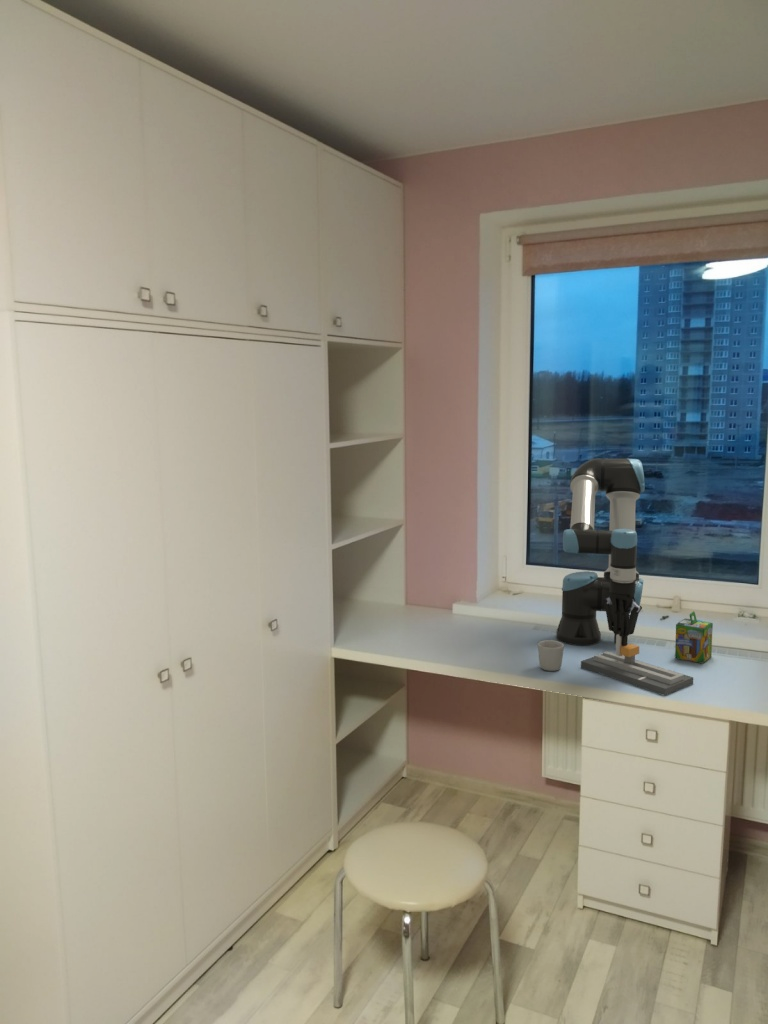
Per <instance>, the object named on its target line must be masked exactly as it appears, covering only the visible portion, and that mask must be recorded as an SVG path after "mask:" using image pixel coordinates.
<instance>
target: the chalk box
mask: <svg viewBox="0 0 768 1024" xmlns="http://www.w3.org/2000/svg"><path fill="white" fill-rule="evenodd" d="M713 625H714V624H713V622H709V621H704V620H699V619H697V616H696V612H695V611H694V610H693V611H692V612H691V613H689V618H684V619H682V620H680V621H678V622H677V623H676V624H675V646H674V647H675V648H674V649H675V650H674V652H675V653H674V659H677V660H678V659H679V660H682V661H683V660H684V661H689V662H696V663H700V664H704V663H705V662H706V661H708V660H709V659H710V658H711V657H712V651H713V650H712V649H713Z"/></svg>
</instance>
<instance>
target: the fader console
mask: <svg viewBox="0 0 768 1024" xmlns="http://www.w3.org/2000/svg"><path fill="white" fill-rule="evenodd" d="M624 661H625V656H617V655H616V652H615V653H614V652H611V651H604V652H602V653H601V654H599V653H598V654H595V655H593V657H589V658H586V659H583V660H581V661H580V668H582V669H585V670H588V671H591V672H593V673H594V672H595V673H597V674H600V675H603V676H607V677H609V678H612V679H615V680H618V681H621V682H624V683H627V684H629V685H633V686H635V687H639V688H641V689H645V690H647V691H651V692H653V693H657V694H659V695H662V696H667V695H670V694H672V693H675V692H677V691H680V690H682V689H684V688H686V687H689V686H691V685H694V677H693V676H689V675H688V674H687V675H686V674H683V673H679V672H677V671H674V670H670V669H668V668H664V667H660V666H658V665H657V666H656V665H653V664H650V663H647V662H644V661H641V660H636V659H635V666H634V665H631V664H628V663H624Z"/></svg>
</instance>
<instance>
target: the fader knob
mask: <svg viewBox="0 0 768 1024" xmlns="http://www.w3.org/2000/svg"><path fill="white" fill-rule="evenodd" d="M639 654H640V646H639V645H637V644H634V643H633V644H632V643H629V644H627V645H626V646H623V647H621V655H623V656H625V661H624V663H628V664H631V665H634V666H635V660H636V655H637V656H638V655H639Z"/></svg>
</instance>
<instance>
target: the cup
mask: <svg viewBox="0 0 768 1024" xmlns="http://www.w3.org/2000/svg"><path fill="white" fill-rule="evenodd" d="M564 644H565V643H564V642H561V641H559V640H558V641H557V640H549V639H548V640H541V641H539V642H538V643H537V652H538V661H539V667H540V668H541V669H542V670H544V671H547V672H554V671H558V670H561V667H562V665H563V658H564V657H563V656H564V648H565V645H564Z"/></svg>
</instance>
